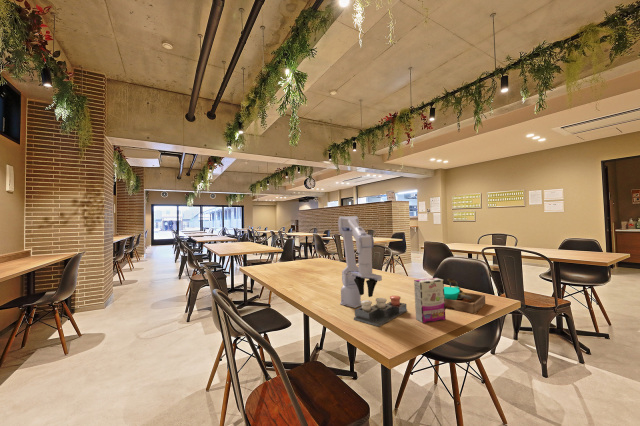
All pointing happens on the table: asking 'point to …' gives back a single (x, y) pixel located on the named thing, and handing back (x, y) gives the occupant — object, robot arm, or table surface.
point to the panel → (379, 314)
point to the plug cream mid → (381, 303)
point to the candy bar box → (429, 300)
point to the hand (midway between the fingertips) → (366, 295)
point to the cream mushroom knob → (366, 305)
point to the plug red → (395, 300)
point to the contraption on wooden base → (455, 294)
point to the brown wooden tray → (466, 306)
